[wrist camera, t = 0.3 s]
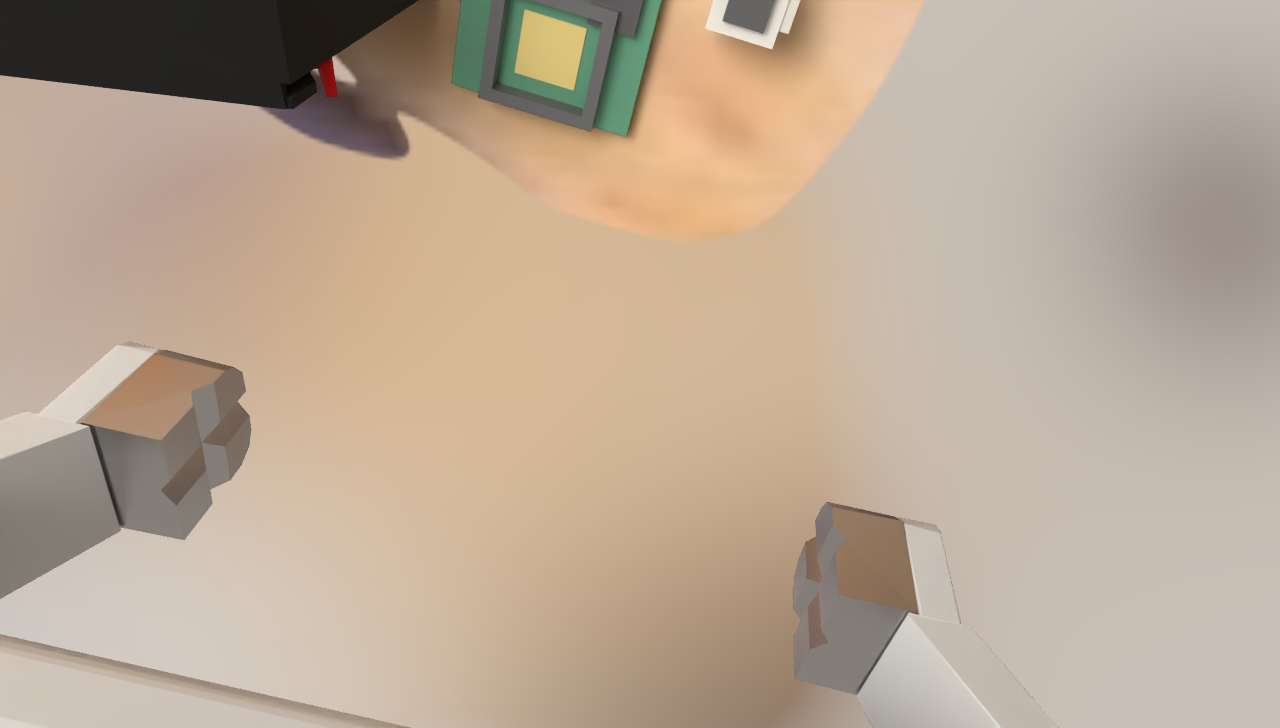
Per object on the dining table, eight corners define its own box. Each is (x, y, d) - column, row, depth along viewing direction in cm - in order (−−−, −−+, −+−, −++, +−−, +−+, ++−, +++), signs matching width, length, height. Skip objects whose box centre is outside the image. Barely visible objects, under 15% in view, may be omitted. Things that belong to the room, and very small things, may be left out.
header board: (476, -84, 49) (460, -76, 47) (668, -24, 50) (662, -12, 47) (456, 78, 55) (441, 93, 53) (628, 130, 56) (621, 147, 53)
